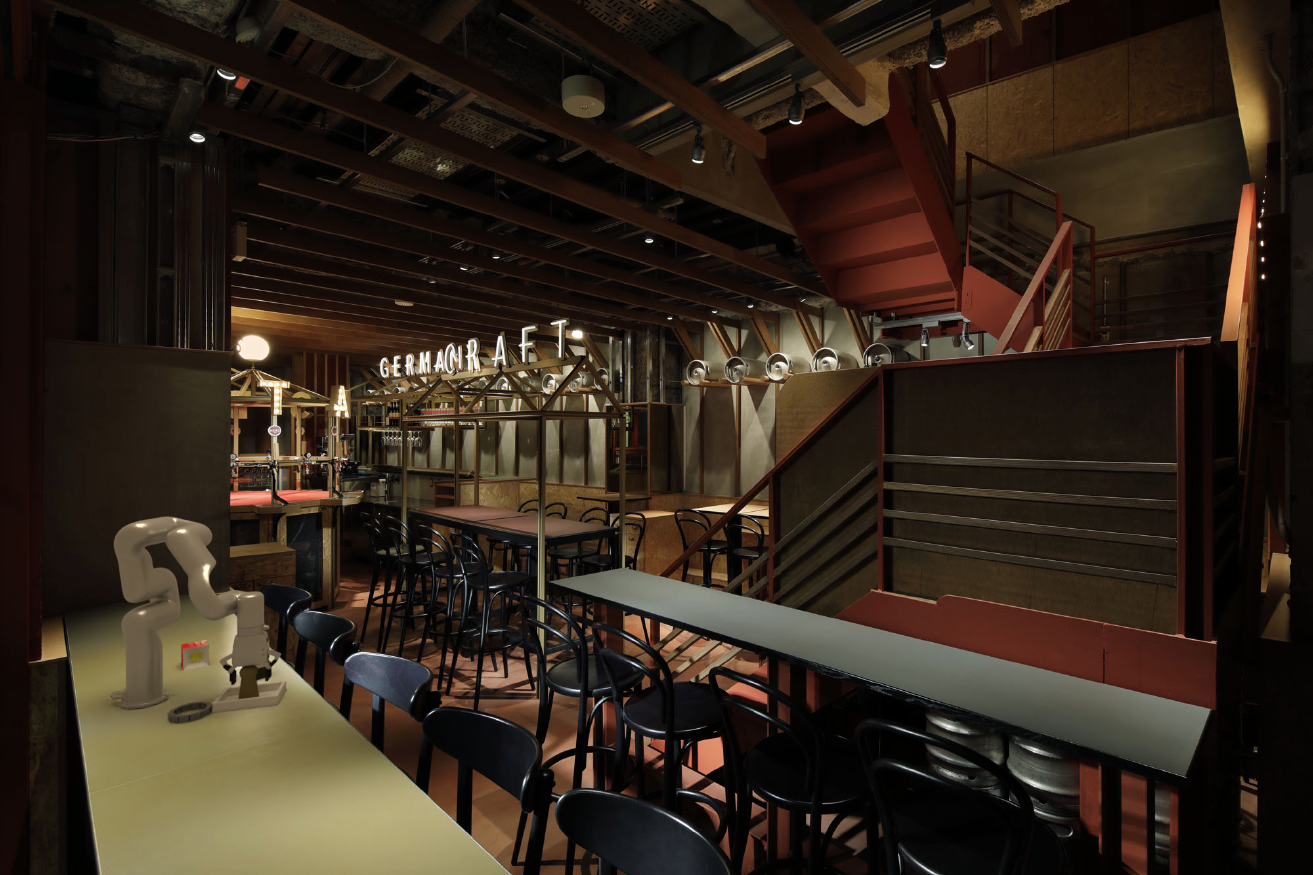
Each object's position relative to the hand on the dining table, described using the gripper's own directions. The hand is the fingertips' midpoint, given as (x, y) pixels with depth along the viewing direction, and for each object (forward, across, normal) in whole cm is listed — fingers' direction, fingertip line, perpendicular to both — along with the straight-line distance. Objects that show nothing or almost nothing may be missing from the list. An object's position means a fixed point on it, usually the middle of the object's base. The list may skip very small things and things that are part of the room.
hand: (250, 681), depth 208 cm
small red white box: (+7, +29, -44) cm, 53 cm away
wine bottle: (+6, +4, -23) cm, 24 cm away
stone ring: (+6, +15, +6) cm, 17 cm away
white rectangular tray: (+6, 0, 0) cm, 6 cm away
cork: (+6, +1, 0) cm, 6 cm away
